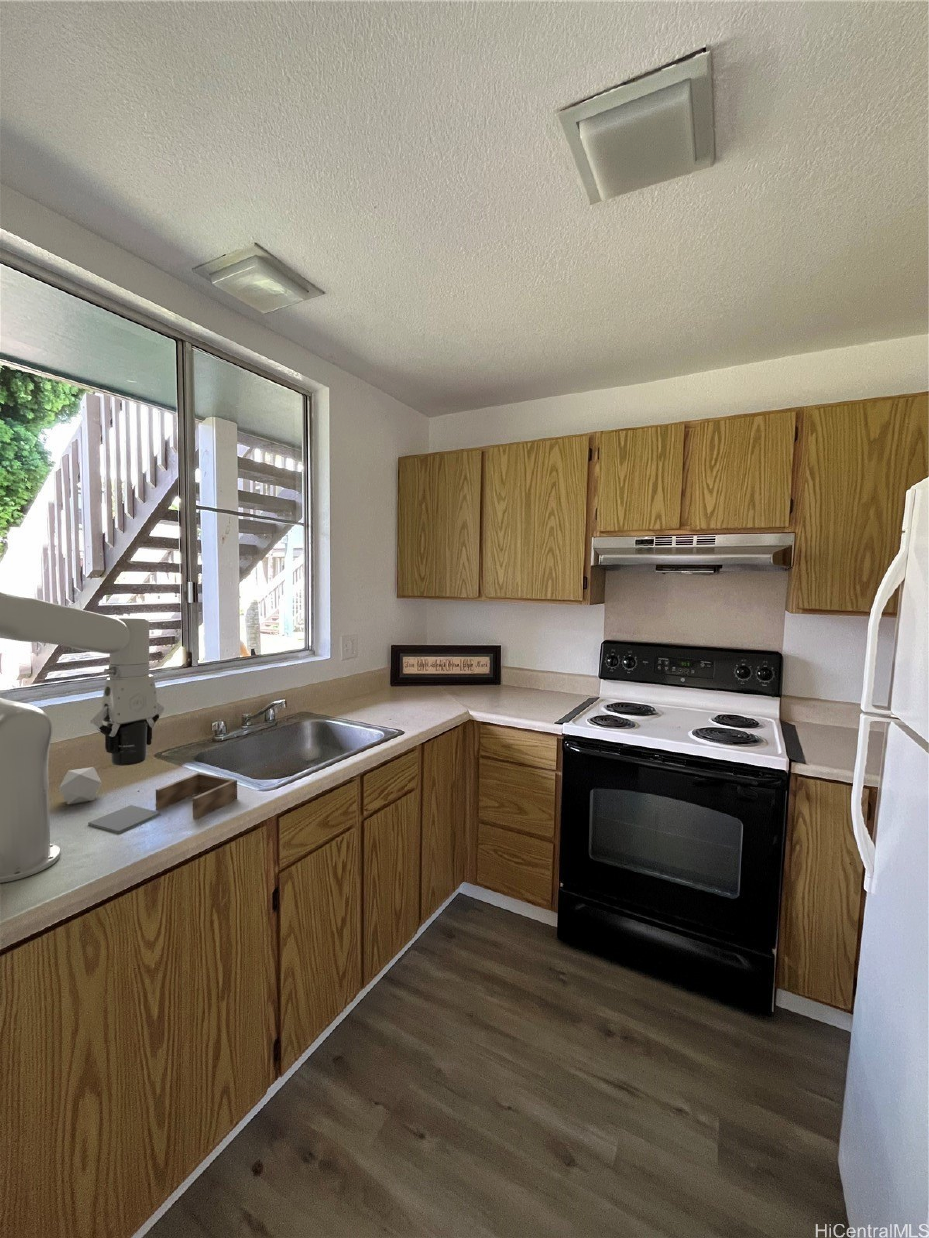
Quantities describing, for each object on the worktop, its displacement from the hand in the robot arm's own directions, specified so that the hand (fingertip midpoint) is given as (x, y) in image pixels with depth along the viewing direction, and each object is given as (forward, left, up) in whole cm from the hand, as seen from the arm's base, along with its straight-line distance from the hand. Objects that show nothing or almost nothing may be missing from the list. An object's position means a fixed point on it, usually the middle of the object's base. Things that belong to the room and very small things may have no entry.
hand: (129, 747), depth 115 cm
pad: (0, +2, -17) cm, 17 cm away
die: (+3, +22, -18) cm, 28 cm away
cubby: (+13, -6, -17) cm, 22 cm away
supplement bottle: (0, 0, -3) cm, 3 cm away
